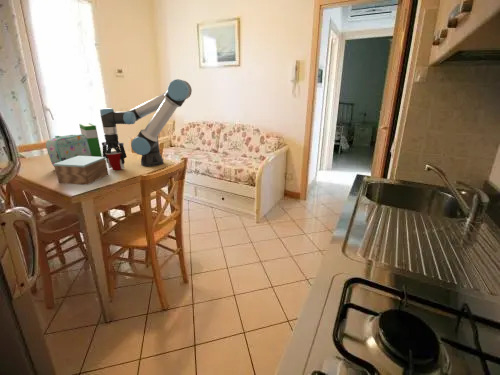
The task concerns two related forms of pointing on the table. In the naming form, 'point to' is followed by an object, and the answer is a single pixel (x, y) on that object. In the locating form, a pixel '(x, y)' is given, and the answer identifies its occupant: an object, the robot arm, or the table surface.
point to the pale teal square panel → (79, 161)
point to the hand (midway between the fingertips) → (116, 167)
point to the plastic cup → (114, 160)
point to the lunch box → (67, 147)
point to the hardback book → (91, 138)
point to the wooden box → (82, 173)
